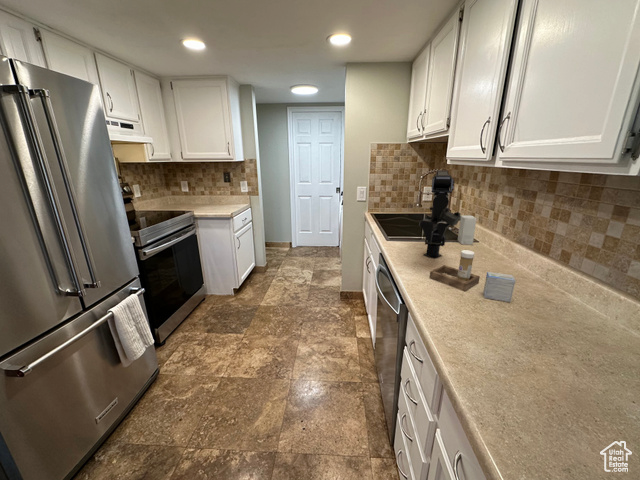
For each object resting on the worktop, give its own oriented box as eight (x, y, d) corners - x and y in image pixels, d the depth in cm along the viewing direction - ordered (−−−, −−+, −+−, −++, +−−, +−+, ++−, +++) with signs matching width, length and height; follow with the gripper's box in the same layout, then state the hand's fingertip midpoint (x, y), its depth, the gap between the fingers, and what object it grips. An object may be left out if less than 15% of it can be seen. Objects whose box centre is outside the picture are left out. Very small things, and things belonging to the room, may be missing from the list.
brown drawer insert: (429, 278, 110) (430, 271, 109) (443, 271, 116) (444, 265, 115) (465, 291, 98) (466, 284, 98) (478, 283, 105) (479, 276, 104)
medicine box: (508, 297, 94) (513, 274, 92) (510, 303, 90) (516, 280, 88) (482, 292, 98) (486, 271, 95) (484, 298, 94) (488, 276, 91)
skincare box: (472, 245, 149) (477, 218, 144) (460, 244, 151) (464, 217, 146) (468, 240, 157) (472, 215, 152) (456, 240, 158) (460, 214, 154)
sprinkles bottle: (453, 282, 106) (458, 250, 102) (461, 280, 108) (466, 249, 104) (464, 287, 102) (469, 254, 98) (471, 284, 104) (477, 252, 100)
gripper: (446, 210, 100) (441, 249, 105) (469, 205, 111) (464, 240, 115) (420, 206, 109) (416, 242, 113) (444, 202, 119) (439, 235, 124)
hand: (435, 240), depth 116 cm, fingers open, 9 cm apart
